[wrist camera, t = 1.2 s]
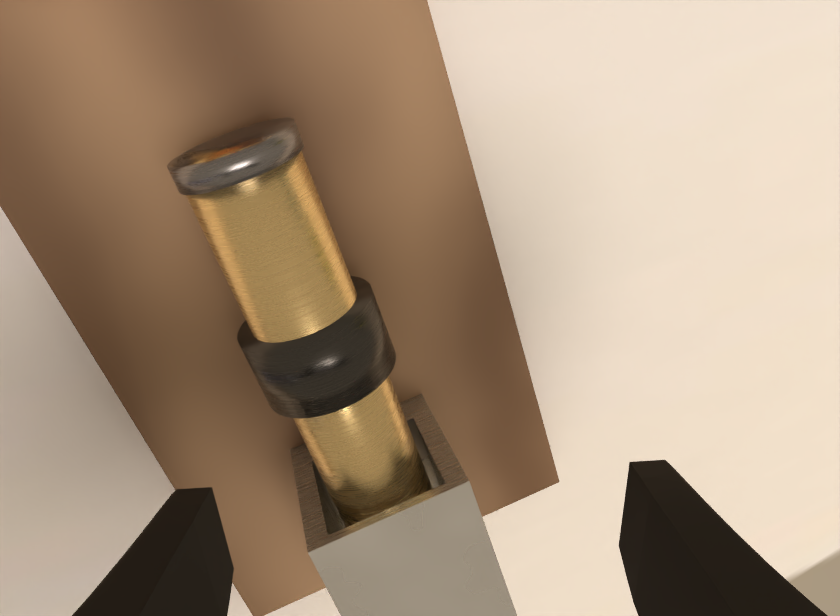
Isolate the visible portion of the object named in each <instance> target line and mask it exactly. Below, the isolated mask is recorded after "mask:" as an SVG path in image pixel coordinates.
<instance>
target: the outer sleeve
mask: <svg viewBox="0 0 840 616" xmlns="http://www.w3.org/2000/svg"><path fill="white" fill-rule="evenodd" d="M400 405H401V408H402V411H403V413H404V416H405V418H406V421H407V423H408V426H409V429H410V431H411V434H412V436H413V439H414V441H415V444H416V447H417V449H418V452H419V454H420V457H421V460H422V462H423V465H424V467H425V470H426V472H427V475H428V478H429V480H430V483H431V485H432V488H433V489H432V490H429V491H427V492H425V493H423V494H420V495H418V496H416V497H414V498H411V499H409V500H407V501H405V502H402V503H400V504H398V505H395V506H393V507H391V508H389V509H386V510H384V511H382V512H380V513H377V514H375V515H373V516H371V517H368V518H366V519H364V520H362V521H359V522H357V523H355V524H353V525H350V526H348V527H345V525H344V523H343V521H342V519H341V516H340V514H339V512H338V510H337V508H336V506H335V504H334V502H333V500H332V498H331V496H330V494H329V492H328V489H327V487H326V485H325V483H324V481H323V479H322V477H321V475H320V473H319V471H318V469H317V467H316V465H315V463H314V460H313V458H312V456H311V454H310V452H309V450H308V448H307V446H306V444H305V443H304V444H302V445H299V446H297V447H295V448H292V449H290V453H291V458H292V464H293V470H294V476H295V482H296V487H297V493H298V499H299V505H300V510H301V516H302V522H303V528H304V533H305V539H306V545H307V551H308V554H309V556H310V558H311V560H312V561H313V563H314V565H315V567H316V569H317V571H318V573H319V575H320V577H321V579H322V580H323V582H324V584H325V586H326V588H327V590H328V592H329V594H330V596H331V597H332V599H333V601H334V603H335V605H336V607H337V609H338V611H339V613H340V614H341V616H517V614H516V611H515V609H514V606H513V603H512V600H511V597H510V594H509V592H508V589H507V586H506V583H505V580H504V578H503V575H502V572H501V569H500V566H499V563H498V561H497V558H496V555H495V552H494V549H493V546H492V544H491V541H490V538H489V535H488V532H487V530H486V527H485V524H484V521H483V518H482V515H481V513H480V510H479V507H478V504H477V501H476V498H475V496H474V493H473V490H472V487H471V484H470V481H469V479H468V478H467V476H466V474H465V472H464V470H463V468H462V467H461V465H460V463H459V461H458V459H457V457H456V456H455V454H454V452H453V450H452V448H451V446H450V445H449V443H448V441H447V439H446V437H445V436H444V434H443V432H442V430H441V428H440V426H439V425H438V423H437V421H436V419H435V417H434V415H433V414H432V412H431V410H430V408H429V406H428V404H427V403H426V401H425V399H424V397H423V395H422V394H419V395H417V396H415V397H412V398H410V399H408V400H405V401H403V402H400Z"/></svg>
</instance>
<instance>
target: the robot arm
mask: <svg viewBox="0 0 840 616" xmlns="http://www.w3.org/2000/svg"><path fill="white" fill-rule="evenodd" d="M619 548H620V552H621V556H622V560H623V564H624V568H625V572H626V576H627V580H628V583H629V587H630V591H631V595H632V598H633V602H634V605H635V607H636V610H637V613H638V615H639V616H827V615H826V614H825V613H824V612H823V611H821V610H820V609H819V608H818V607H816V606H815V605H814V604H813V603H812V602H811V601H810V600H808V599H807V598H806V597H805V596H804V595H803V594H802V593H800V592H799V591H798V590H797V589H796V588H795V587H794V586H793V585H791V584H790V583H789V582H788V581H787V580H786V579H785V578H784V577H782V576H781V575H780V574H779V573H778V572H777V571H776V570H775V569H774V568H773V567H772V566H770V565H769V564H768V563H767V562H766V561H765V560H764V559H763V558H762V557H761V556H760V555H759V554H758V553H757V552H756V551H755V550H754V549H753V548H752V547H751V546H750V545H748V544H747V543H746V542H745V541H744V540H743V539H742V538H741V537H740V536H739V535H738V534H737V533H736V532H735V531H734V530H733V529H732V528H731V527H730V526H729V525H728V524H727V523H726V522H725V521H724V520H723V519H722V518H721V517H720V516H719V515H718V514H717V513H716V512H715V511H714V510H713V509H712V508H711V507H710V506H709V505H708V504H707V503H706V502H705V501H704V499H703V498H702V497H701V496H700V495H699V494H698V493H697V492H696V491H695V490H694V489H693V488H692V487H691V486H690V485H689V484H688V483H687V482H686V481H685V480H684V478H683V477H682V476H681V475H680V474H679V473H678V472H677V471H676V470H675V469H674V468H673V467H672V466H671V465H670V464H669V463H668V462H667V461H666V460H656V461H639V462H630V464H629V472H628V479H627V487H626V494H625V502H624V510H623V517H622V525H621V533H620V540H619ZM233 572H234V567H233V563H232V559H231V556H230V552H229V548H228V544H227V541H226V537H225V533H224V530H223V526H222V522H221V518H220V515H219V511H218V507H217V504H216V500H215V496H214V493H213V489H212V487H205V488H188V489H177V490H176V491H175V492H174V493H173V494H172V495H171V496H170V497H169V499H168V500H167V501H166V502H165V504H164V505H163V506H162V507H161V509H160V510H159V511H158V512H157V514H156V515H155V516H154V518H153V519H152V520H151V521H150V523H149V524H148V525H147V526H146V528H145V529H144V530H143V532H142V533H141V534H140V535H139V537H138V538H137V539H136V540H135V542H134V543H133V544H132V545H131V547H130V548H129V549H128V550H127V552H126V553H125V554H124V555H123V557H122V558H121V559H120V560H119V561H118V563H117V564H116V565H115V566H114V567H113V569H112V570H111V571H110V572H109V573H108V574H107V576H106V577H105V578H104V579H103V580H102V582H101V583H100V584H99V585H98V586H97V588H96V589H95V590H94V591H93V592H92V594H91V595H90V596H89V597H88V598H87V599H86V601H85V602H84V603H83V604H82V605H81V606H80V607H79V608H78V609H77V611H76V612H75V613H74V614H73V615H72V616H227V613H228V606H229V600H230V593H231V586H232V579H233Z"/></svg>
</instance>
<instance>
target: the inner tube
mask: <svg viewBox="0 0 840 616" xmlns="http://www.w3.org/2000/svg"><path fill="white" fill-rule="evenodd" d="M303 148H304V144H303V141H302V139H301V136H300V133H299V131H298V128H297V126H296V123H295V120H294V119H293V118H290V117H285V118H277V119H272V120H267V121H263V122H259V123H256V124H252V125H249V126H246V127H243V128H240V129H237V130H234V131H231V132H228V133H226V134H223V135H221V136H218V137H216V138H213V139H211V140H208V141H206V142H204V143H202V144H200V145H197V146H195V147H193V148H191V149H189V150H187V151H186V152H184V153H182V154H180V155H179V156H177V157H176V158H174V159H173V160H172V161H170V162H169V163H168V165H167V168H168V170H169V172H170V174H171V176H172V179H173V181H174V183H175V185H176V187H177V189H178V191H179V193H180V194H182V195H186V197H187V199H188V201H189V203H190V205H191V207H192V209H193V211H194V213H195V216H196V218H197V220H198V222H199V224H200V226H201V228H202V230H203V232H204V234H205V236H206V238H207V240H208V243H209V245H210V247H211V249H212V251H213V253H214V255H215V257H216V259H217V261H218V263H219V265H220V267H221V270H222V272H223V274H224V276H225V278H226V280H227V282H228V284H229V286H230V288H231V290H232V292H233V294H234V296H235V299H236V301H237V303H238V305H239V307H240V309H241V311H242V313H243V315H244V317H245V319H246V320H245V321H244V322H243V324H242V325H241V327H240V329H239V331H238V334H237V340H238V343H239V345H240V347H241V349H242V351H243V353H244V355H245V357H246V359H247V361H248V363H249V365H250V367H251V369H252V371H253V373H254V375H255V377H256V379H257V381H258V383H259V385H260V387H261V389H262V391H263V393H264V395H265V397H266V399H267V401H268V403H269V405H270V407H271V409H272V410H273V411H274V412H275V413H277V414H279V415H281V416H284V417H288V418H293V419H294V421H295V423H296V425H297V427H298V429H299V431H300V433H301V436H302V438H303V440H304V442H305V444H306V446H307V448H308V450H309V452H310V454H311V456H312V458H313V460H314V463H315V465H316V467H317V469H318V471H319V473H320V475H321V477H322V479H323V481H324V483H325V485H326V487H327V489H328V492H329V494H330V496H331V498H332V500H333V502H334V504H335V506H336V508H337V510H338V512H339V514H340V516H341V519H342V521H343V523H344V525H345V527H348V526H350V525H353V524H355V523H357V522H359V521H362V520H364V519H366V518H368V517H371V516H373V515H375V514H377V513H380V512H382V511H384V510H386V509H389V508H391V507H393V506H395V505H398V504H400V503H402V502H405V501H407V500H409V499H411V498H414V497H416V496H418V495H420V494H423V493H425V492H427V491H429V490H432V489H433V488H432V485H431V483H430V480H429V478H428V475H427V472H426V470H425V467H424V465H423V462H422V460H421V457H420V454H419V452H418V449H417V447H416V444H415V441H414V439H413V436H412V434H411V431H410V429H409V426H408V423H407V421H406V418H405V416H404V413H403V411H402V408H401V405H400V403H399V400H398V398H397V395H396V393H395V390H394V387H393V385H392V382H391V380H390V377H389V375H390V373H391V372H392V370H393V368H394V365H395V362H396V352H395V349H394V346H393V344H392V341H391V338H390V336H389V333H388V330H387V328H386V325H385V322H384V320H383V317H382V314H381V312H380V309H379V306H378V304H377V301H376V298H375V296H374V293H373V290H372V288H371V285H370V284H369V282H368V281H366V280H365V279H362V278H360V277H356V276H350V274H349V272H348V269H347V266H346V264H345V261H344V259H343V256H342V254H341V251H340V248H339V246H338V243H337V241H336V238H335V236H334V233H333V230H332V228H331V225H330V223H329V220H328V218H327V215H326V212H325V210H324V207H323V205H322V202H321V200H320V197H319V194H318V192H317V189H316V187H315V184H314V182H313V179H312V176H311V174H310V171H309V169H308V166H307V164H306V161H305V158H304V156H303V153H302V149H303Z"/></svg>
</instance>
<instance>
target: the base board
mask: <svg viewBox="0 0 840 616" xmlns="http://www.w3.org/2000/svg"><path fill="white" fill-rule="evenodd" d="M285 117H290V118H293V119H294V120H295V123H296V126H297V128H298V131H299V133H300V136H301V139H302V141H303V144H304V148H303V149H302V153H303V156H304V158H305V161H306V164H307V166H308V169H309V171H310V174H311V176H312V179H313V182H314V184H315V187H316V189H317V192H318V194H319V197H320V200H321V202H322V205H323V207H324V210H325V212H326V215H327V218H328V220H329V223H330V225H331V228H332V230H333V233H334V236H335V238H336V241H337V243H338V246H339V248H340V251H341V254H342V256H343V259H344V261H345V264H346V266H347V269H348V272H349V274H350V276H356V277H360V278H362V279H365V280H366V281H368V282H369V284H370V285H371V288H372V290H373V293H374V296H375V298H376V301H377V304H378V306H379V309H380V312H381V314H382V317H383V320H384V322H385V325H386V328H387V330H388V333H389V336H390V338H391V341H392V344H393V346H394V349H395V352H396V362H395V365H394V368H393V370H392V372H391V373H390V375H389V377H390V380H391V382H392V385H393V387H394V390H395V393H396V395H397V398H398V400H399V403H400V402H403V401H405V400H408V399H410V398H412V397H415V396H417V395H419V394H422V395H423V397H424V399H425V401H426V403H427V404H428V406H429V408H430V410H431V412H432V414H433V415H434V417H435V419H436V421H437V423H438V425H439V426H440V428H441V430H442V432H443V434H444V436H445V437H446V439H447V441H448V443H449V445H450V446H451V448H452V450H453V452H454V454H455V456H456V457H457V459H458V461H459V463H460V465H461V467H462V468H463V470H464V472H465V474H466V476H467V478H468V479H469V481H470V484H471V487H472V490H473V493H474V496H475V498H476V501H477V504H478V507H479V510H480V513H481V515H482V517H483V516H485V515H487V514H489V513H492V512H494V511H496V510H498V509H500V508H503V507H505V506H507V505H509V504H512V503H514V502H516V501H518V500H520V499H523V498H525V497H527V496H529V495H531V494H534V493H536V492H538V491H540V490H543V489H545V488H547V487H549V486H551V485H554V484H556V483H558V482H559V479H558V475H557V471H556V468H555V464H554V460H553V457H552V453H551V450H550V446H549V442H548V439H547V435H546V431H545V428H544V424H543V420H542V417H541V413H540V410H539V406H538V402H537V399H536V395H535V391H534V388H533V384H532V381H531V377H530V373H529V370H528V366H527V362H526V359H525V355H524V351H523V348H522V344H521V341H520V337H519V333H518V330H517V326H516V322H515V319H514V315H513V311H512V308H511V304H510V301H509V297H508V293H507V290H506V286H505V282H504V279H503V275H502V271H501V268H500V264H499V261H498V257H497V253H496V250H495V246H494V242H493V239H492V235H491V231H490V228H489V224H488V221H487V217H486V213H485V210H484V206H483V202H482V199H481V195H480V191H479V188H478V184H477V181H476V177H475V173H474V170H473V166H472V162H471V159H470V155H469V151H468V148H467V144H466V141H465V137H464V133H463V130H462V126H461V122H460V119H459V115H458V111H457V108H456V104H455V101H454V97H453V93H452V90H451V86H450V82H449V79H448V75H447V71H446V68H445V64H444V61H443V57H442V53H441V50H440V46H439V42H438V39H437V35H436V32H435V28H434V24H433V21H432V17H431V13H430V10H429V6H428V2H427V0H0V206H1V208H2V209H3V211H4V213H5V214H6V216H7V217H8V219H9V221H10V222H11V224H12V226H13V227H14V229H15V230H16V232H17V234H18V235H19V237H20V239H21V240H22V242H23V243H24V245H25V247H26V248H27V250H28V252H29V253H30V255H31V256H32V258H33V260H34V261H35V263H36V264H37V266H38V268H39V269H40V271H41V273H42V274H43V276H44V277H45V279H46V281H47V282H48V284H49V286H50V287H51V289H52V290H53V292H54V294H55V295H56V297H57V299H58V300H59V302H60V303H61V305H62V307H63V308H64V310H65V312H66V313H67V315H68V316H69V318H70V320H71V321H72V323H73V325H74V326H75V328H76V329H77V331H78V333H79V334H80V336H81V337H82V339H83V341H84V342H85V344H86V346H87V347H88V349H89V350H90V352H91V354H92V355H93V357H94V359H95V360H96V362H97V363H98V365H99V367H100V368H101V370H102V372H103V373H104V375H105V376H106V378H107V380H108V381H109V383H110V385H111V386H112V388H113V389H114V391H115V393H116V394H117V396H118V397H119V399H120V401H121V402H122V404H123V406H124V407H125V409H126V410H127V412H128V414H129V415H130V417H131V419H132V420H133V422H134V423H135V425H136V427H137V428H138V430H139V432H140V433H141V435H142V436H143V438H144V440H145V441H146V443H147V445H148V446H149V448H150V449H151V451H152V453H153V454H154V456H155V458H156V459H157V461H158V462H159V464H160V466H161V467H162V469H163V470H164V472H165V474H166V475H167V477H168V479H169V480H170V482H171V483H172V485H173V487H174V488H175V490H177V489H188V488H205V487H212V489H213V493H214V496H215V500H216V504H217V507H218V511H219V515H220V518H221V522H222V526H223V530H224V533H225V537H226V541H227V544H228V548H229V552H230V556H231V559H232V563H233V567H234V572H233V579H232V582H233V584H234V586H235V587H236V589H237V591H238V592H239V594H240V595H241V597H242V599H243V600H244V602H245V603H246V605H247V607H248V608H249V610H250V612H251V613H252V615H253V616H264V615H266V614H268V613H270V612H272V611H275V610H277V609H279V608H281V607H284V606H286V605H288V604H290V603H292V602H295V601H297V600H299V599H301V598H303V597H306V596H308V595H310V594H312V593H315V592H317V591H319V590H321V589H323V588H326V586H325V584H324V582H323V580H322V579H321V577H320V575H319V573H318V571H317V569H316V567H315V565H314V563H313V561H312V560H311V558H310V556H309V554H308V551H307V545H306V539H305V533H304V528H303V522H302V516H301V510H300V505H299V499H298V493H297V487H296V482H295V476H294V470H293V464H292V458H291V453H290V449H292V448H295V447H297V446H299V445H302V444H304V443H305V442H304V440H303V438H302V436H301V433H300V431H299V429H298V427H297V425H296V423H295V421H294V419H293V418H288V417H284V416H281V415H279V414H277V413H275V412H274V411H273V410H272V409H271V407H270V405H269V403H268V401H267V399H266V397H265V395H264V393H263V391H262V389H261V387H260V385H259V383H258V381H257V379H256V377H255V375H254V373H253V371H252V369H251V367H250V365H249V363H248V361H247V359H246V357H245V355H244V353H243V351H242V349H241V347H240V345H239V343H238V340H237V334H238V331H239V329H240V327H241V325H242V324H243V322H244V321H245V320H246V319H245V317H244V315H243V313H242V311H241V309H240V307H239V305H238V303H237V301H236V299H235V296H234V294H233V292H232V290H231V288H230V286H229V284H228V282H227V280H226V278H225V276H224V274H223V272H222V270H221V267H220V265H219V263H218V261H217V259H216V257H215V255H214V253H213V251H212V249H211V247H210V245H209V243H208V240H207V238H206V236H205V234H204V232H203V230H202V228H201V226H200V224H199V222H198V220H197V218H196V216H195V213H194V211H193V209H192V207H191V205H190V203H189V201H188V199H187V197H186V195H182V194H180V193H179V191H178V189H177V187H176V185H175V183H174V181H173V179H172V176H171V174H170V172H169V170H168V168H167V165H168V163H169V162H170V161H172V160H173V159H174V158H176V157H177V156H179V155H180V154H182V153H184V152H186V151H187V150H189V149H191V148H193V147H195V146H197V145H200V144H202V143H204V142H206V141H208V140H211V139H213V138H216V137H218V136H221V135H223V134H226V133H228V132H231V131H234V130H237V129H240V128H243V127H246V126H249V125H252V124H256V123H259V122H263V121H267V120H272V119H277V118H285Z"/></svg>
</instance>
